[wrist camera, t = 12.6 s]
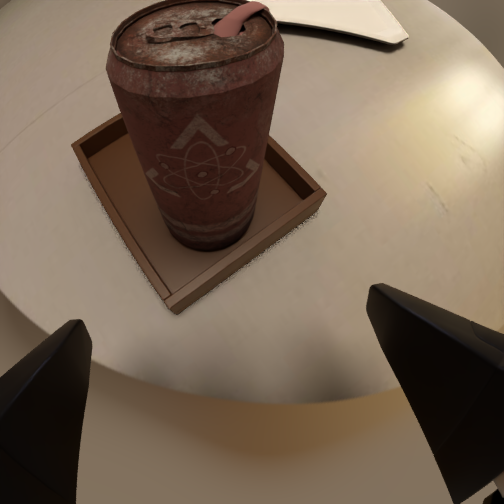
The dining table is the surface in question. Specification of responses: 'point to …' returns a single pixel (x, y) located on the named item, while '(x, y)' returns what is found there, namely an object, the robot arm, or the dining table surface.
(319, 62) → the dining table surface
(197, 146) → the can
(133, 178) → the tray
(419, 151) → the dining table surface
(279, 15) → the plate
